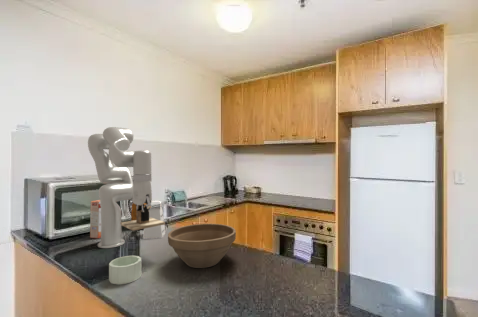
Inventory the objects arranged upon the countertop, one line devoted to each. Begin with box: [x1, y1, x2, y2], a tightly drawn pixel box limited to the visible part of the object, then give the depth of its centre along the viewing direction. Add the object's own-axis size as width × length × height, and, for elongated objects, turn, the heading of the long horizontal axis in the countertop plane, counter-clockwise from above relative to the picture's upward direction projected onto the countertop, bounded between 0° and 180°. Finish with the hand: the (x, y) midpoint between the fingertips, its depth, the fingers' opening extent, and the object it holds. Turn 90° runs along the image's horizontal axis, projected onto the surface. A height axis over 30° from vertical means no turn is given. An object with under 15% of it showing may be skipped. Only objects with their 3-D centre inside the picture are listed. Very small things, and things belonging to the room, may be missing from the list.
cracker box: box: [89, 199, 101, 239], centre depth 149 cm, size 14×6×21 cm, turn 168°
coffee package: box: [130, 202, 152, 221], centre depth 164 cm, size 10×12×22 cm
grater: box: [142, 200, 166, 240], centre depth 146 cm, size 10×10×20 cm
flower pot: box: [167, 223, 237, 269], centre depth 108 cm, size 28×28×13 cm
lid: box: [121, 210, 166, 232], centre depth 111 cm, size 14×14×6 cm
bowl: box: [108, 255, 143, 285], centre depth 94 cm, size 11×11×6 cm
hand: (142, 219), depth 111 cm, fingers closed on lid, 4 cm apart
